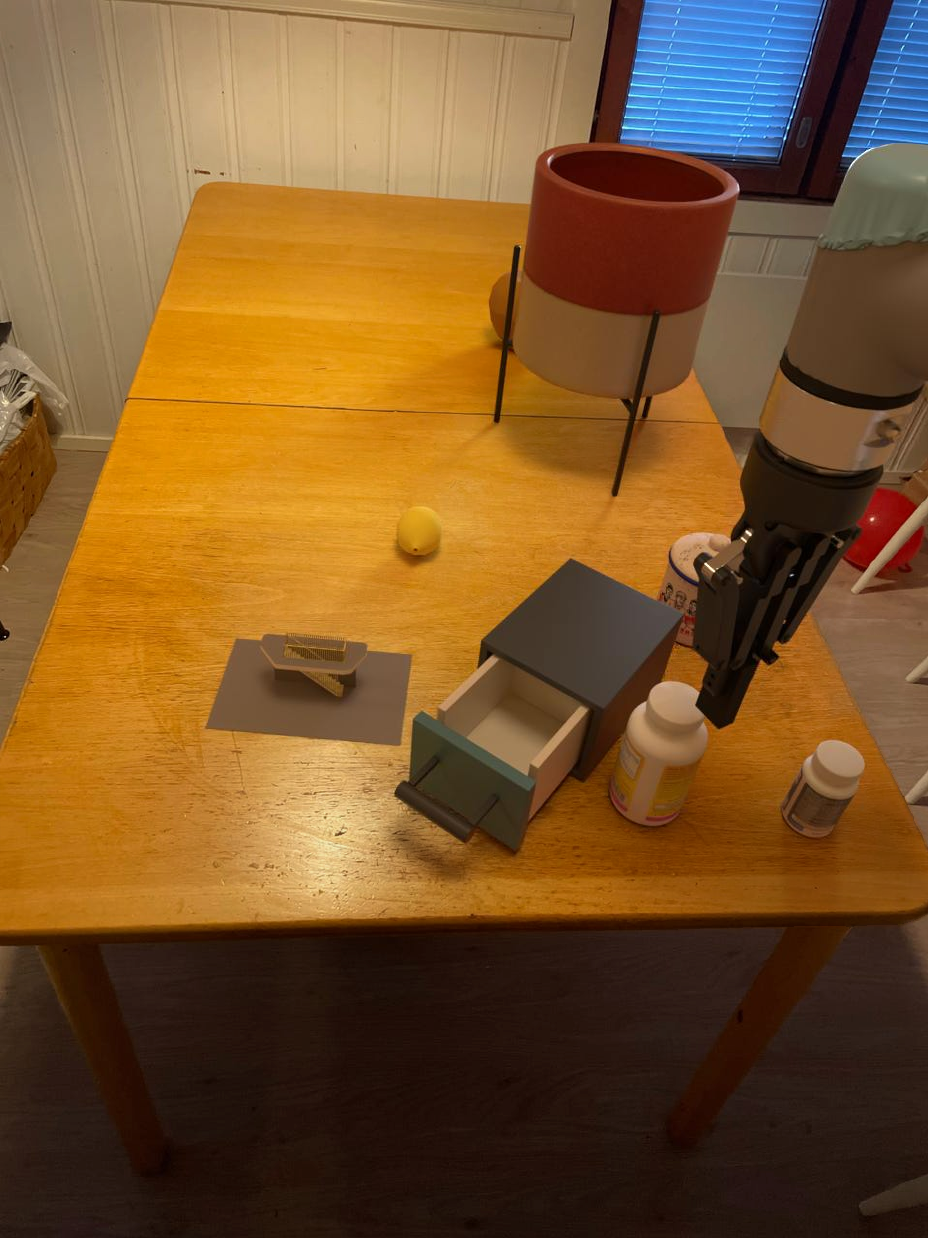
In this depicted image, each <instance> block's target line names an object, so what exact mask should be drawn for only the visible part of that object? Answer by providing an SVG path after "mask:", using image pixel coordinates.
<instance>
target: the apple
mask: <svg viewBox="0 0 928 1238" xmlns="http://www.w3.org/2000/svg"><path fill="white" fill-rule="evenodd" d="M522 269H523V268H521V269H518V275H517V284H516V292H515V300H514V308H513V317H512V325H511V333H510V340H513V334H514V327H515V322H516V317H517V309H518V301H519V293H520V285H521V277H522ZM510 276H511V271H507V272H505V273H504V274H502V275H501V276H500V277H499V278H498V279H497V280H496V282H495V283H494V284H493V285H492V286H491V291H490V295H489V299H488V308H489V317H490V321H491V322H490V323H491V325H492V327H493V329H494V331H495V334H496V336H497V338H499V340H500V339H501V340H502V341H503V336H504V328H505V319H506V311H507V302H508V293H509V285H510ZM501 340H500V341H501ZM502 341H501V342H502ZM509 349H510V350H513V351H514V349H513V347H509Z"/></svg>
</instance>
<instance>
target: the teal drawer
mask: <svg viewBox="0 0 928 1238" xmlns="http://www.w3.org/2000/svg"><path fill="white" fill-rule="evenodd" d="M477 668H478V667H477ZM477 668H476V670H474V672H473V673H472V674H471V675H469V677H468V678H467V679H466V680H464V681H463V682H462V683H461V684H460V685H459V686H458V687H457V688H455V690H454V691H452V692H451V694H450V695H448V696H447V698H445V699H444V700H443V701H442V702H441V703H440V704H439V705H438V706H437V713H436V718H434V716H432V715H430V714H428V713H427V712H425V711H423V710H420V711H419V712H418V713H417V714H416V715H415V716H414V717H412V726H411V727H412V728H411V743H410V755H409V756H410V760H409V772H408V773H409V775H408V781H407V780H401V781H400V782H399V784H398V785H397V786H396V787H395V790H394V792H393V796H394V797H395V798H396V799H398V800H399V801H401V803H403V804H404V805H405V806H407V807H409V808H411V809H413V810H414V811H415V812H417V813H418V814H420V815H421V816H423V817H424V818H426V819H427V820H428V821H430V822H432V823H433V824H435V825H436V826H438V827H439V828H440V829H442V830H444V831H445V832H446V833H447V834H449V835H450V836H452V837H453V838H455V839H457V840H458V841H460V842H461V843H463V844H468V843H469V842H470V841H471V840H472V838H473V836H474V835H475V833H476V828H477V827H479V828H480V829H482V830H483V831H485V832H486V833H488V834H489V835H491V836H492V837H494V838H495V839H497V840H499V841H500V842H501V843H503V844H504V845H506V846H507V847H509V848H510V849H511V850H514V851H517V850H518V849H519V848H520V847H521V846H522V844H523V843H524V840H525V836H526V832H527V828H528V824H529V822H530V820H531V819H532V818H533V817H534V815H535V814H536V813H537V812H538V811H539V809H540V808H541V807H542V806H543V805H544V803H545V802H546V801H547V799H549V798H550V796H551V795H552V794H553V793H554V792H555V790H556V789H557V787H559V785H560V784H561V783H562V782H563V780H564V779H565V778H566V776H568V775H569V774H568V773H569V772H570V770H571V769H572V768H573V767H574V765H575V764H576V763H577V762H578V761H579V759H580V758H581V757H582V755H583V751H584V747H585V744H586V740H587V736H588V733H589V729H590V725H591V722H592V718H593V714H594V711H595V710H593V709H591V708H589V707H587V706H586V705H584V704H582V703H580V702H579V701H577V700H575V699H573V698H571V697H570V696H568V695H566V694H564V693H563V692H561V691H559V690H557V689H555V688H554V687H552V686H550V685H548V684H547V683H545V682H543V681H541V680H540V679H538V678H536V677H534V676H532V675H531V674H529V673H527V672H525V671H524V670H522V669H520V668H518V667H516V666H515V665H513V664H511V663H509V662H508V661H506V660H504V659H502V658H500V657H499V656H497V655H495V654H493V655H492V656H491V657H490V658H489V659H488V660H487V661H486V662H485V663H484V664H483V665H481V666H480V667H479V668H478V669H477ZM418 787H419V788H420V789H422V790H423V791H424V792H423V791H422V790H420V789H419V788H418ZM425 792H426V793H427V794H426V793H425ZM429 795H430V796H429ZM431 796H432V797H433V798H435V799H436V800H435V799H433V798H432V797H431ZM437 800H438V801H437ZM440 802H441V803H442V804H441V803H440ZM443 804H444V805H446V806H444V805H443ZM450 809H451V810H450ZM452 810H453V811H454V812H453V811H452ZM455 812H456V813H458V814H459V815H461V816H462V817H461V816H459V815H458V814H456V813H455ZM463 817H464V818H465V819H466V820H465V819H464V818H463ZM467 820H468V821H467Z"/></svg>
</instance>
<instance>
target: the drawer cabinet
mask: <svg viewBox="0 0 928 1238" xmlns="http://www.w3.org/2000/svg"><path fill="white" fill-rule="evenodd" d="M683 617H684V613H682V612H680V611H678V610H676V609H674V608H672V607H670V606H668V605H666V604H664V603H661V602H659V601H657V599H655V598H653V597H651V596H649V595H647V594H645V593H643V592H641V591H639V590H637V589H635V588H633V587H632V586H629V585H626V584H625V583H623V582H621V581H618V580H617V579H614V578H613V577H610V576H608V575H606V574H604V573H603V572H600V571H598V570H596V569H594V568H593V567H590V566H589V565H586V564H584V563H582V562H580V561H578V560H576V559H574V558H572V557H570V558H569V559H568V560H567V561H565V563H563V564H562V565H561V566H560V567H559V568H558V569H556V570H555V572H554V573H552V574H551V575H550V576H549V577H548V578H547V579H546V580H544V581H543V582H542V583H541V584H540V585H539V586H538V587H537V588H536V589H535V590H534V591H533V592H532V593H531V594H530V595H528V596H527V597H526V598H525V599H524V600H523V601H522V602H520V603H519V604H518V605H517V606H516V607H515V608H514V609H513V610H512V611H511V612H510V613H509V614H507V615H506V616H505V617H504V618H503V619H502V620H500V622H499V623H498V624H497V625H496V626H495V627H493V629H491V630H490V631H489V632H488V633H487V634H485V636H484V637H483V638H481V639H480V646H479V654H478V661H477V668H476V670H477V669H478V668H479V667H480V666H481V665H483V664H484V663H485V662H486V661H487V660H488V659H489V658H490V657H491V656H492V655H493V654H495V655H497V656H499V657H500V658H502V659H504V660H506V661H508V662H509V663H511V664H513V665H515V666H516V667H518V668H520V669H522V670H524V671H525V672H527V673H529V674H531V675H532V676H534V677H536V678H538V679H540V680H541V681H543V682H545V683H547V684H548V685H550V686H552V687H554V688H555V689H557V690H559V691H561V692H563V693H564V694H566V695H568V696H570V697H571V698H573V699H575V700H577V701H579V702H580V703H582V704H584V705H586V706H587V707H589V708H591V709H593V710H595V711H594V714H593V718H592V722H591V725H590V729H589V733H588V736H587V740H586V744H585V747H584V751H583V755H582V757H581V758H580V759H579V761H578V762H577V763H576V764H575V765H574V767H573V768H572V769H571V770H570V772H569V773H568V774H567V775H570V776H571V777H574V778H575V779H577V780H578V781H580V782H582V783H584V782H585V781H586V780H587V779H588V777H589V776H591V774H592V772H593V771H594V770H595V769H596V767H598V765H599V764H600V762H601V761H602V760H603V759H604V757H605V756H606V755H607V754H608V752H609V751H610V750H611V748H612V747H613V746H614V745H615V743H617V741H618V740H619V739H620V737H621V736H622V735H623V734H624V733H625V730H626V727H627V724H628V721H629V718H630V716H631V714H632V712H633V711H634V710H635V708H637V707H638V706H639V705H640V704H642V703H644V702H646V701H647V699H648V697H649V694H650V692H651V690H652V689H653V687H655V686H656V685H657V684H660V683H662V681H663V678H664V675H665V674H666V673H665V672H666V669H667V667H668V665H669V660H670V658H671V655H672V652H673V649H674V646H675V642H676V641H675V640H676V637H677V634H678V631H679V628H680V625H681V622H682V620H683Z"/></svg>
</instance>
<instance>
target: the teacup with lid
mask: <svg viewBox="0 0 928 1238" xmlns="http://www.w3.org/2000/svg"><path fill="white" fill-rule="evenodd" d="M730 543H731V540H730V537H728V536H726V534H722V533H712V532H693V533H688V534H685V535H683V536H681V537H679V538H678V539H676V541H675V542H674V543H673V544H672V545H671V546H670V548H669V551H668V555H667V556H668V562H667V565H666V569H665V572H664V574H663V578H662V582H661V585H660V587H659V591H658V595H657V597H656V600H657V601H659V602H661V603H664V604H666V605H668V606H670V607H672V608H674V609H676V610H678V611H680V612H682V613H684V617H683V620H682V622H681V625H680V628H679V631H678V634H677V637H676V640H675V642H677V643H680V644H682V645H683V646H684V645H685V646H689V647H692V643H693V633H694V623H695V613H696V603H697V593H698V583H699V578H698V576H697V573H696V571H695V568H694V566H693V562H694V560H695V558H696V557H697V556H698V555H699V554H700V553H702V552H704V551H705V552H708V553H709V554H710V555H711V556H713V557H714V556H716V555H717V554H718V553H719V552H721V551H722V550H723V549H724V548H725V547H727V546H728V545H729V544H730Z"/></svg>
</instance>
